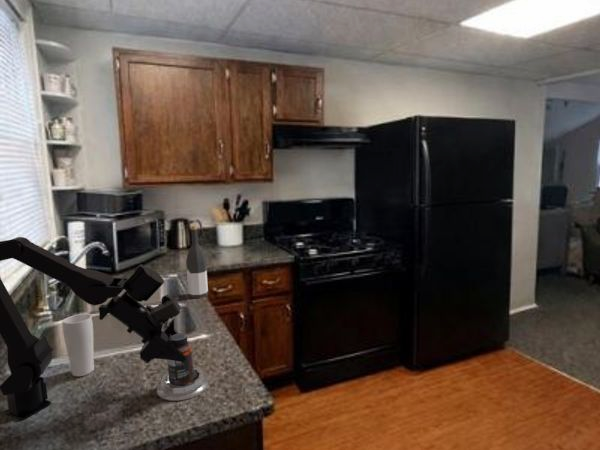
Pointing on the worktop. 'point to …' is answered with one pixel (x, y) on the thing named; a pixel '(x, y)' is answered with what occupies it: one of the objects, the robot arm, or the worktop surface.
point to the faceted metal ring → (182, 387)
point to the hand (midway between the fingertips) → (185, 354)
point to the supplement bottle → (181, 370)
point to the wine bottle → (196, 268)
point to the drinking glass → (79, 343)
